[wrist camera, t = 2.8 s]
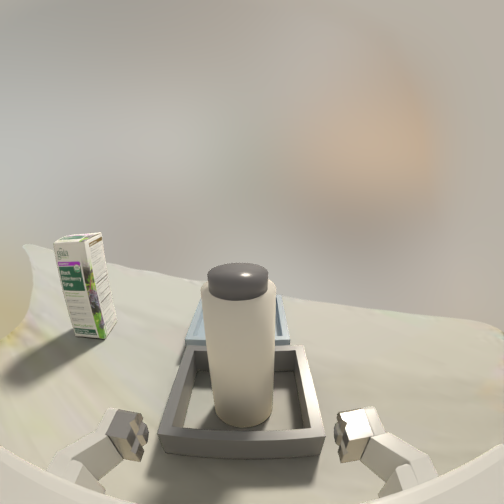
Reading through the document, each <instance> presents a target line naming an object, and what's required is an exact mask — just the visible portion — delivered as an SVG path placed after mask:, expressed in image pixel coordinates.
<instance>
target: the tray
mask: <svg viewBox="0 0 504 504" xmlns="http://www.w3.org/2000/svg"><path fill="white" fill-rule="evenodd" d="M185 343H186V346H187V345H198V346H206V338H205V329H204V320H203V310H202V300H201V299H200V301H199V304H198V306H197V309H196V312H195V314H194V317H193V319H192V322H191V325H190V327H189V330H188V332H187V335H186V338H185ZM283 345H290V336H289V331H288V326H287V321H286V316H285V311H284V306H283V301H282V296H281V295H276V316H275V346H283Z"/></svg>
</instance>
